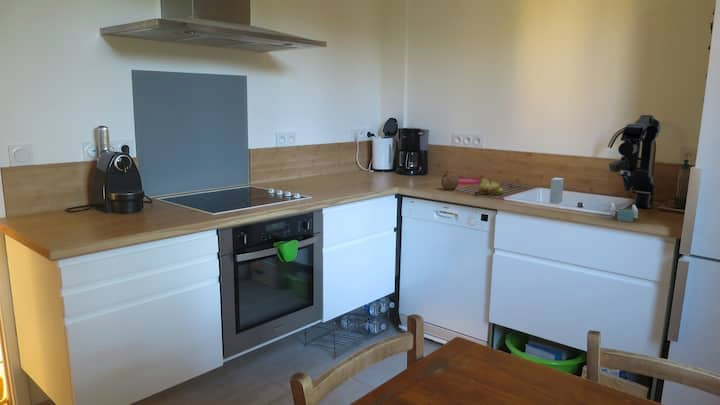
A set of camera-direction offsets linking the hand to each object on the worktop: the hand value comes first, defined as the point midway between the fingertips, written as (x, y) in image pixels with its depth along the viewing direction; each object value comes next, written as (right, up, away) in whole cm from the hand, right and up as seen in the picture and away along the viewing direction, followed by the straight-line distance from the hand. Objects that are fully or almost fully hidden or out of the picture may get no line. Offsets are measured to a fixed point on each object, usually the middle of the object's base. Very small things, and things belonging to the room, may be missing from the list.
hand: (627, 191), depth 221 cm
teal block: (-2, -12, -2) cm, 13 cm away
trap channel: (+3, -10, +9) cm, 14 cm away
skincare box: (-19, -5, +32) cm, 37 cm away
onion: (-65, +2, +64) cm, 91 cm away
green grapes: (-46, -1, +52) cm, 69 cm away
